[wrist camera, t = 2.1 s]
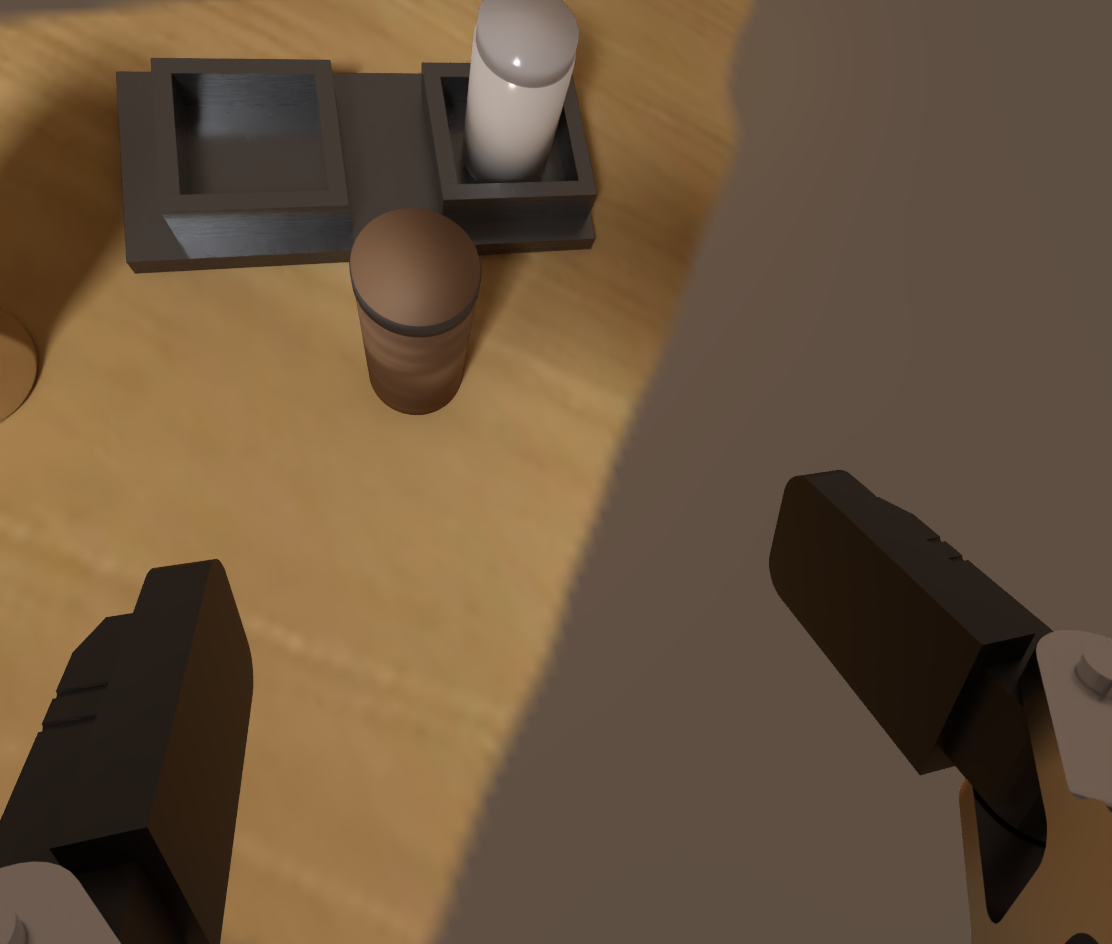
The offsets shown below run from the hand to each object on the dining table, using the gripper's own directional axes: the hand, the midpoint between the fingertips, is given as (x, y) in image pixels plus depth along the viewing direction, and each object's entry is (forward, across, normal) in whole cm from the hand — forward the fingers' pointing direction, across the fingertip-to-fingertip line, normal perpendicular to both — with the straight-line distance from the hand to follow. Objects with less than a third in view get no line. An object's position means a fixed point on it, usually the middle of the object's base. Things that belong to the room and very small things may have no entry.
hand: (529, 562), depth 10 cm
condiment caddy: (+32, +1, 0) cm, 32 cm away
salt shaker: (+31, -6, -1) cm, 32 cm away
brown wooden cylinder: (+24, 0, +7) cm, 25 cm away
